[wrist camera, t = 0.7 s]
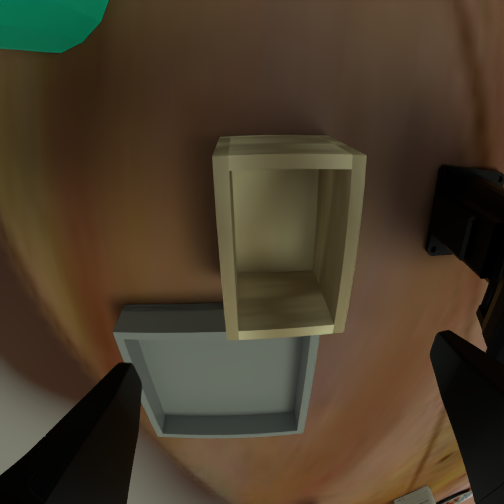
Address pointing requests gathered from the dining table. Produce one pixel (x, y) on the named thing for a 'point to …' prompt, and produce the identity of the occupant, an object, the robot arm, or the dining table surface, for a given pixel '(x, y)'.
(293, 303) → the birch crate
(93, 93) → the dining table surface
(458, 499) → the ceramic plate
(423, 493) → the supplement box
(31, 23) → the candle
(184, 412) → the grey tray
